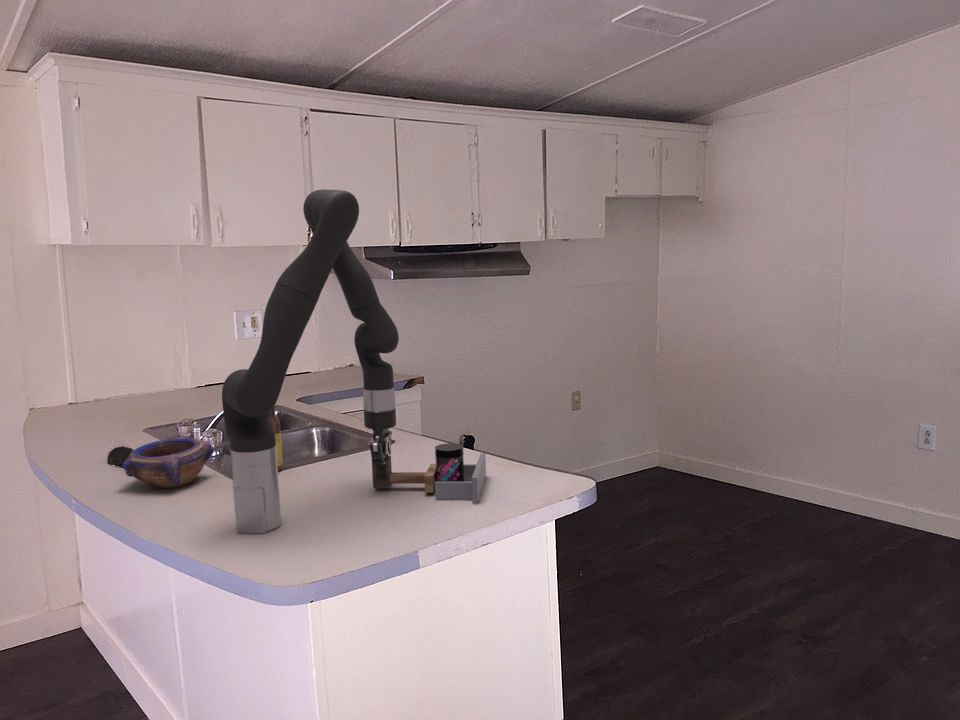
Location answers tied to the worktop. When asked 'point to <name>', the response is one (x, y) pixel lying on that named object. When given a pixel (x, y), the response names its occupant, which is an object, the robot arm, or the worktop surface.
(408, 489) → the worktop surface
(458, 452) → the supplement container
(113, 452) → the hairbrush
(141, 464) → the bowl
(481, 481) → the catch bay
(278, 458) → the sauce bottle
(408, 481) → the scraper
